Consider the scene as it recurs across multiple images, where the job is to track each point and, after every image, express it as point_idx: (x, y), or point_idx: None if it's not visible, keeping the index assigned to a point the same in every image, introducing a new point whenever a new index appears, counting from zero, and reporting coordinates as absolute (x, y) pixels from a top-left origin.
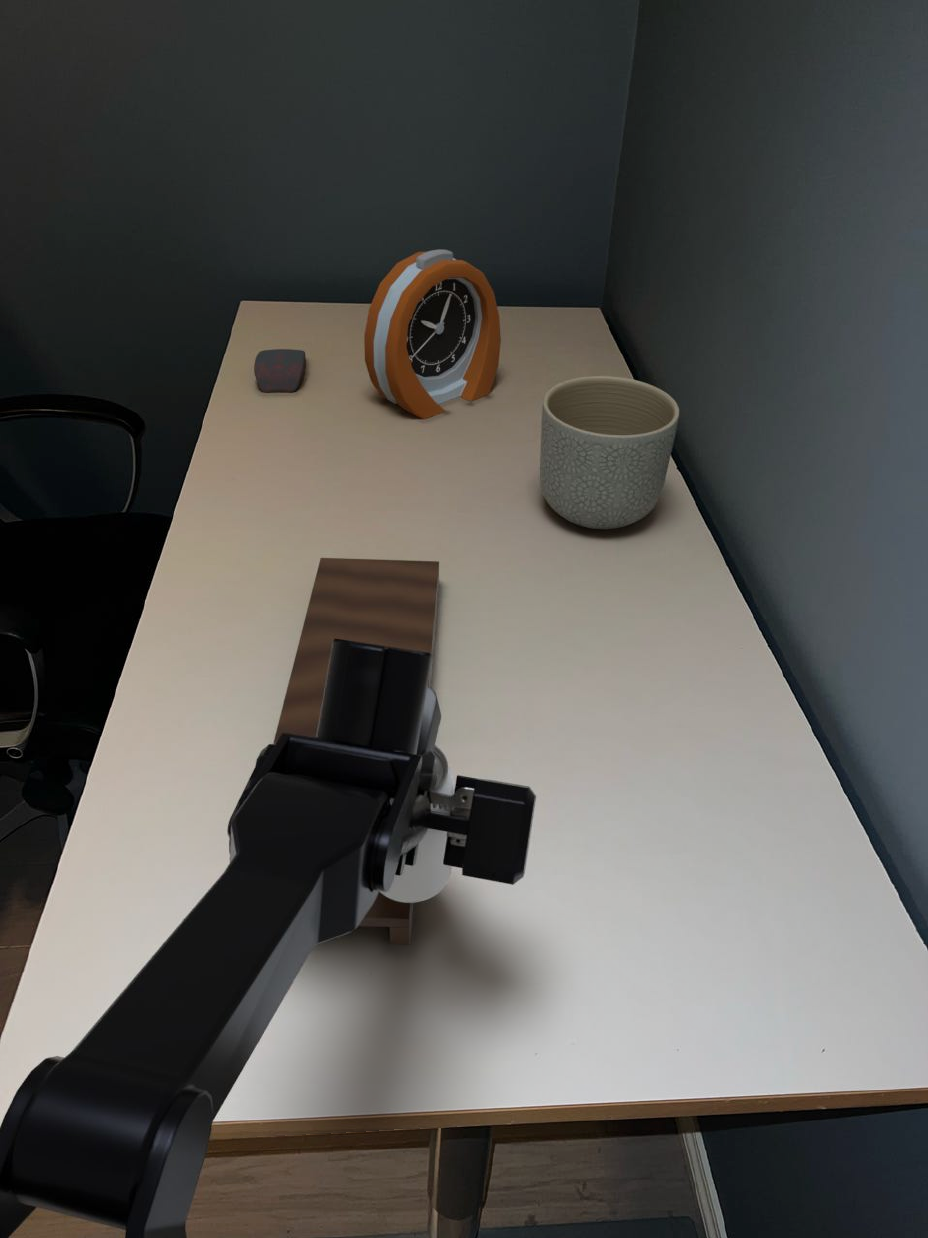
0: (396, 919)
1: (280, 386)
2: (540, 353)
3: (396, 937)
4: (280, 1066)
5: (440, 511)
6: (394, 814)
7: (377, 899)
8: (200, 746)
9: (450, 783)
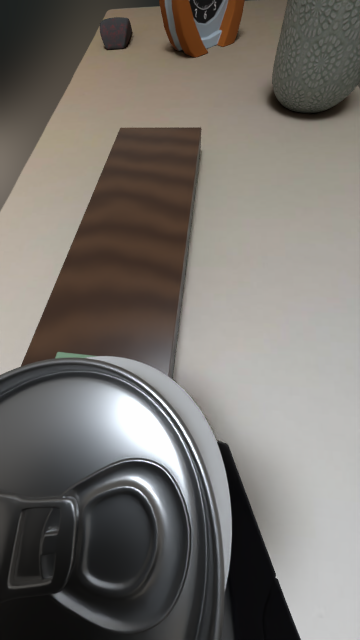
0: None
1: (115, 43)
2: (264, 20)
3: None
4: None
5: (203, 107)
6: None
7: None
8: (29, 265)
9: (225, 574)
